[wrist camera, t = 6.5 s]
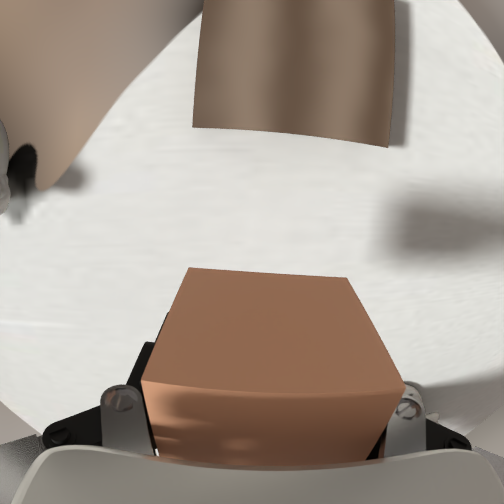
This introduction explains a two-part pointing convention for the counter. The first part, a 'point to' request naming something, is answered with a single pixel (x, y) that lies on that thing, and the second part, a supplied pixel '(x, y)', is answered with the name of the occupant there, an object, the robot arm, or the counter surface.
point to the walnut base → (297, 68)
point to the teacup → (4, 169)
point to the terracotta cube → (268, 372)
